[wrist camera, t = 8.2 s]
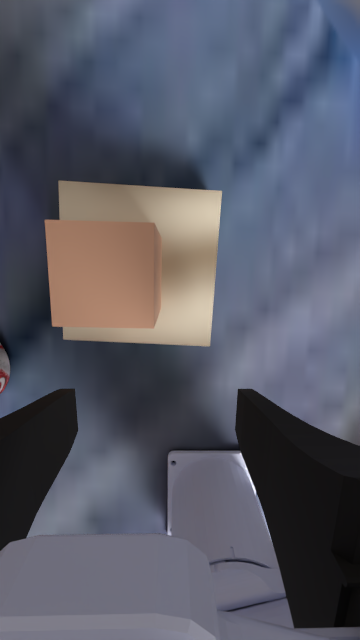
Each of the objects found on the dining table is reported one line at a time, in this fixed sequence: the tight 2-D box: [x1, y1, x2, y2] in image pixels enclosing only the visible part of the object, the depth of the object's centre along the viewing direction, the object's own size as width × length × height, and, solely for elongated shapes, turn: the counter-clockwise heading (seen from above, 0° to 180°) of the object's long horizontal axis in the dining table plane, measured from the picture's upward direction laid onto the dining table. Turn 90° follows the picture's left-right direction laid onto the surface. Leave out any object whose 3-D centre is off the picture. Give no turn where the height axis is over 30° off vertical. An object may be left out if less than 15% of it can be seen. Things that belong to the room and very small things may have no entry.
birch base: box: [59, 181, 222, 346], centre depth 19 cm, size 10×10×4 cm
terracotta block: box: [45, 220, 162, 329], centre depth 14 cm, size 4×4×6 cm
